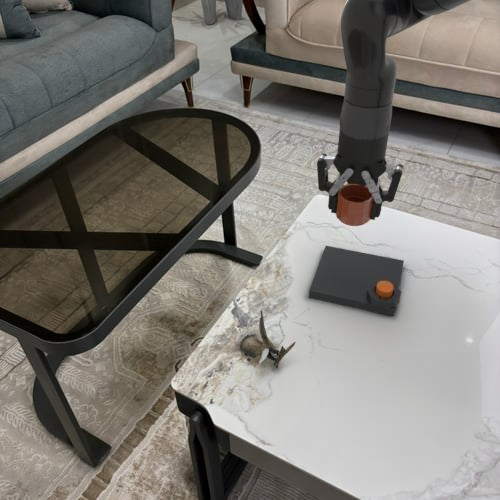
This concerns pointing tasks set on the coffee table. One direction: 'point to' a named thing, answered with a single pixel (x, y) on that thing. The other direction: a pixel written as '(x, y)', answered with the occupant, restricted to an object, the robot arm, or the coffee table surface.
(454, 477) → the coffee table surface
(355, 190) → the brown cup
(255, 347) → the eagle figurine
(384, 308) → the scale
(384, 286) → the button
